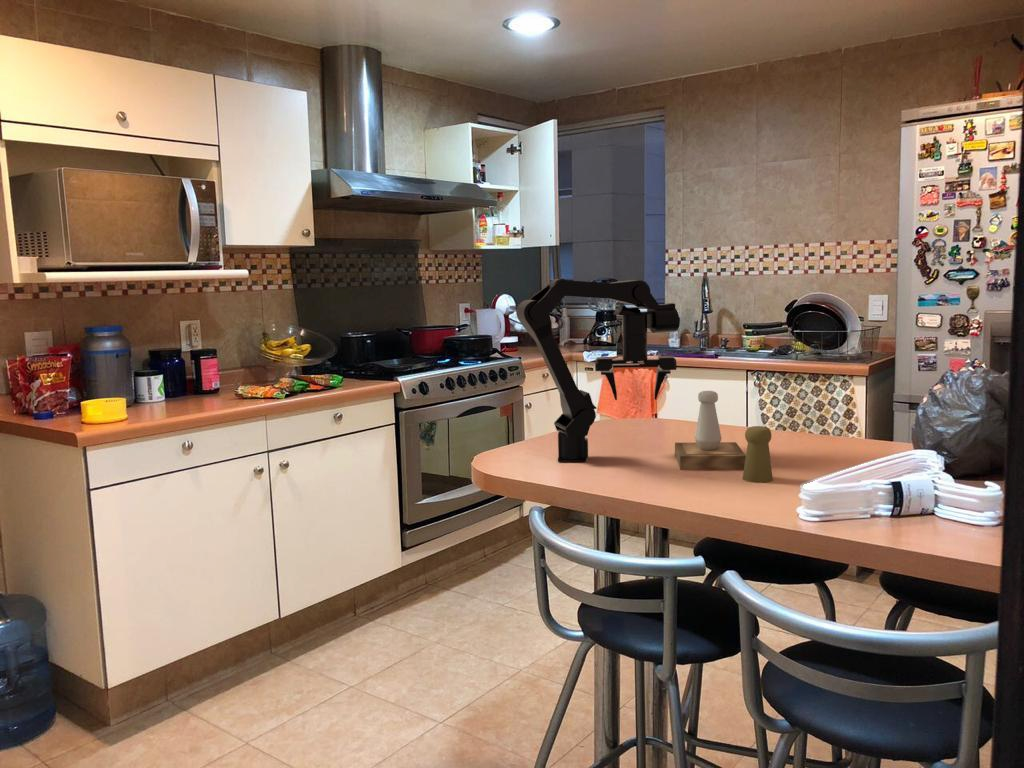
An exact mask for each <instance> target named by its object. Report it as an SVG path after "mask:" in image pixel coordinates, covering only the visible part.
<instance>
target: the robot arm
mask: <svg viewBox="0 0 1024 768" xmlns="http://www.w3.org/2000/svg"><path fill="white" fill-rule="evenodd" d="M565 297H575V298H576V297H580V298H595V299H605V300H606V299H607V300H610V301H614V302H615V303H616V302H618V303H621V304H620V305H619V306H618V307H617V309H616V310H614V312H613V315H615V316H622V317H621V318H622V342H616V345H615V346H616V357H618V358H619V357H621V358H622V359H613V357H612V356H598V357H596V358H595V363H594V369H595V372H600V375H603V376H605V378H606V379H607V381H608V383H609V385H610V388H611V391H612V394H613V397H614V400H615V401H617V400H618V393H617V385H616V379H615V373H614V368H618V369H619V368H620V369H621V368H656V374H655V375H656V376H655V381H654V382H655V384H654V391H653V395H654V397H653V398H654V399H653V400H655V401H656V400H657V398H658V395H659V392H660V389H661V387H662V384H663V382H664V381H665V378H666V376H667V375H669V374H671V373H672V371H676V370H677V359H676V358H675V357H674V356H673V355H658V356H657V359H656V358H654V359H653V358H652V359H648V329H649V331H650V332H651V333H652V334H655V333H657V334H658V333H675V332H677V331H678V330H679V329H680V325H681V317H680V316H679V312H678V310H677V308H676V303H675V302H672V303H671V302H670V303H669V302H668V303H666V302H665V303H662V304H659V303H658V301H657V300H656V298H655V297H654V296H653V295H652V293H651V287H650V286H649V284H648V283H647V281H645V280H641V279H640V280H639V279H627V280H620V281H614V282H600V281H599V282H598V281H597V282H596V281H585V280H584V281H581V280H568V279H566V278H565V279H564V278H554V279H552V280H551V281H550V282H549V283H548V284H547V285H546V286H545V287H544V288H542V289H541V290H540V291H538V292H536V293H535V294H534V295H533V296H532V297H530V298H529V299H525V300H523V301H521V302H520V303H519V304H518V306H517V308H516V311H515V312H516V314H515V315H516V317H517V320H518V321H519V323H520V324H521V325H522V327H523V328H524V329H525V330H526V332H527V333H528V334H529V336H531V338H532V339H533V341H535V343H536V345H537V348H538V351H539V353H540V354H541V357H542V360H543V361H544V363H545V365H546V367H547V370H548V372H549V374H550V376H551V378H552V380H553V383H554V384H555V386H556V389H557V390H558V392H559V399H560V407H561V411H562V413H561V414H560V415H559V417H558V418H557V419H556V420H555V421H554V423H553V425H554V427H555V430H556V431H557V432H558V434H557V449H558V453H557V454H558V455H557V457H558V458H557V462H558V463H560V462H561V463H575V462H576V463H579V462H580V463H581V462H583V463H585V462H587V458H589V438H587V436H588V435H589V431H590V428H591V427H592V425H593V424H594V422H595V421H596V417H597V412H596V411H595V410H597V409H598V408H597V406H595V405H594V403H593V399H592V397H591V394H590V392H587V391H584V390H582V389H579V388H578V387H577V384H576V382H575V379H574V377H573V375H572V374H571V370H570V369H569V367H568V365H567V362H566V361H565V358H564V355H563V354H562V352H561V349H560V347H559V345H558V343H557V339H555V336H554V332H553V324H552V323H553V321H552V319H551V314H550V313H551V312H553V311H554V309H555V308H557V306H558V304H559V303H561V301H562V300H563V299H564V298H565ZM626 305H631V306H634V307H627V306H626ZM641 309H646V310H645V311H643V310H642V311H641ZM628 362H629V363H628Z"/></svg>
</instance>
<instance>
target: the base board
mask: <svg viewBox="0 0 1024 768" xmlns="http://www.w3.org/2000/svg"><path fill="white" fill-rule="evenodd" d="M674 456H675V459H676V462H677V465H678V467H679V470H681V471H683V470H692V471H693V470H694V471H695V470H698V471H699V470H701V471H703V470H704V471H705V470H707V471H709V470H713V471H715V470H724V471H725V470H728V471H729V470H731V471H733V470H739V471H741V470H742V471H744V465H745V458H746V454H745V453H744V451H743V450H742V449H741V447H740V446H739V444H738V443H737V441H735V442H733V441H732V442H731V441H730V442H729V441H728V442H727V441H726V442H721V441H720V443H719V445H718V447H717V449H716V450H701V449H699V448H698V446H697V443H696V442H674Z"/></svg>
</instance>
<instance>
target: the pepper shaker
mask: <svg viewBox="0 0 1024 768" xmlns="http://www.w3.org/2000/svg"><path fill="white" fill-rule="evenodd" d="M744 437H745V440H746V443H747V446H746V452H745V453H746V454H745V455H746V458H745V465H744V470H743V472H742V474H743V475H742V480H743V481H745V482H749V483H756V484H763V483H771V482H773V481H774V478H773V477H774V476H773V470H772V461H771V453H770V446H769V443H770V442H771V440H772V431H771V429H770V428H769V427H766V426H762V425H755V426H749V427H748V428H746V430H745V433H744Z"/></svg>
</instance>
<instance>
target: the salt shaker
mask: <svg viewBox="0 0 1024 768" xmlns="http://www.w3.org/2000/svg"><path fill="white" fill-rule="evenodd" d="M718 395H719V394H718V393H717V392H716V391H714V390H702V391H700V392H698V396H697V400H698V402H700V406H699V411H698V415H697V416H698V417H697V422H696V427H695V435H694V441H695V443H697V446H698V448H699V449H701V450H716V449H717V447H718V445H719V443H720V442H721V441H722V434H721V429H720V424H719V418H718V414H717V409H716V402H718V400H719V396H718Z"/></svg>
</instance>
